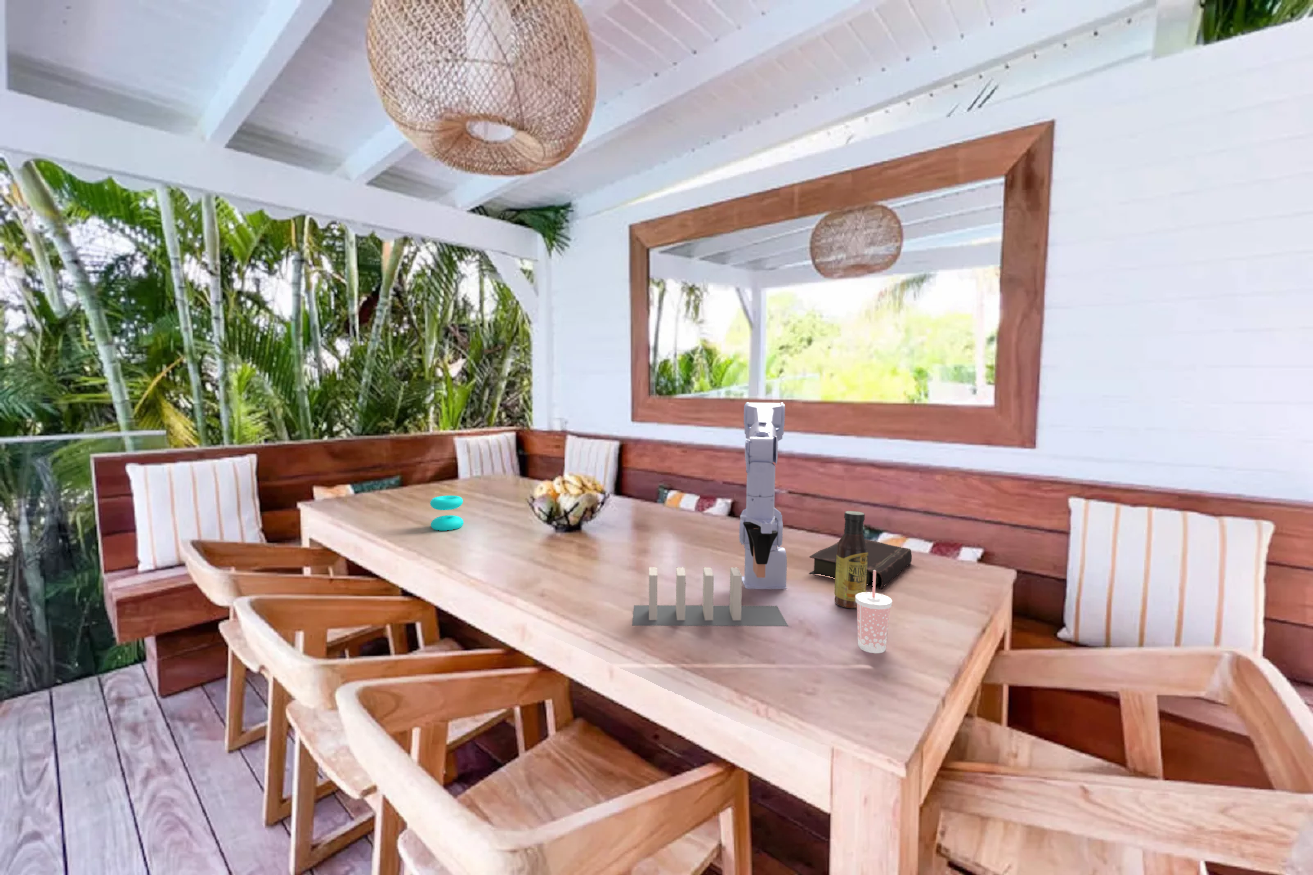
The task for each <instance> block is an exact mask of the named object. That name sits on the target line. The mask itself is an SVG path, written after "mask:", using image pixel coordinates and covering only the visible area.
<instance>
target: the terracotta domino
mask: <svg viewBox="0 0 1313 875" xmlns="http://www.w3.org/2000/svg"><path fill="white" fill-rule="evenodd" d="M754 529H758V528H754ZM753 571H754V573H755V574H756V576H757V578H765V564H757V563H756V560H755V554H754V546H753Z"/></svg>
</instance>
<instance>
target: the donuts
mask: <svg viewBox="0 0 1313 875" xmlns="http://www.w3.org/2000/svg"><path fill="white" fill-rule="evenodd" d="M463 503H464V500H463V497H461V496H459V495H440V496H439V495H438V496H436V497H432V499H431V500H430V502H429V504H430V506H431V508H432V509H434V510H438V511H451V510H455V509H458V508H460V507H461V506H463ZM463 526H464V519H463V518H462V517H460V516H459V515H454V514H453V515H451V514H448V515H441V516H438V517H437V516H436V518H433V519H432V520H431V522H430V527H431V529H432V530H434V531H438V530H439V531H440V532H446V531H447V530H449V531H454V530H453V529H455V530H459V529H460V528H462V527H463ZM447 532H448V531H447Z"/></svg>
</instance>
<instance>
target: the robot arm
mask: <svg viewBox="0 0 1313 875" xmlns="http://www.w3.org/2000/svg"><path fill="white" fill-rule="evenodd" d="M785 418H786V405H785V403H784V402H783V401H782V402H749V401H747V402H745V404H744V406H743V425H744V429H743V430H744V434H745V442H744V460H745V473H746V495H745V496H746V497H745V499H746V501H745V503H746V505H745V508H744V509H743V510H742V511H741V513H740V515H739V518H740V520H739V529H738V530H739V532H738V533H739V534H738V538H739V539H738V540H739V543H740V544H741V545H742V546H743V547H744V575H742V585H743V586H744V588H745V589H746V590H786V589H788V587H787V576H788V575H787V574H788V573H787V572H788V569H787V568H788V567H787V566H788V562H787V559H788V557H787V552H786V548H785V547H783V546H782V545H783V538H784V537H783V534H784V533H783V531H784V528H783V527H784V526H783V525H784V524H783V514H782V512H781V511H780V510H778V509H777V508H776V507H775V495H776V494H775V493H776V490H775V489H776V465H777V464H778V455H779V454H778V453H779V441H781V440H783V436H784V431H785V422H786V421H785V420H786V419H785ZM774 463H775V464H774ZM754 528H758V529H754ZM753 546H754V554H755V560H756V563H757V564H765V578H757V576H756V574H755V573H754V571H753Z"/></svg>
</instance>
